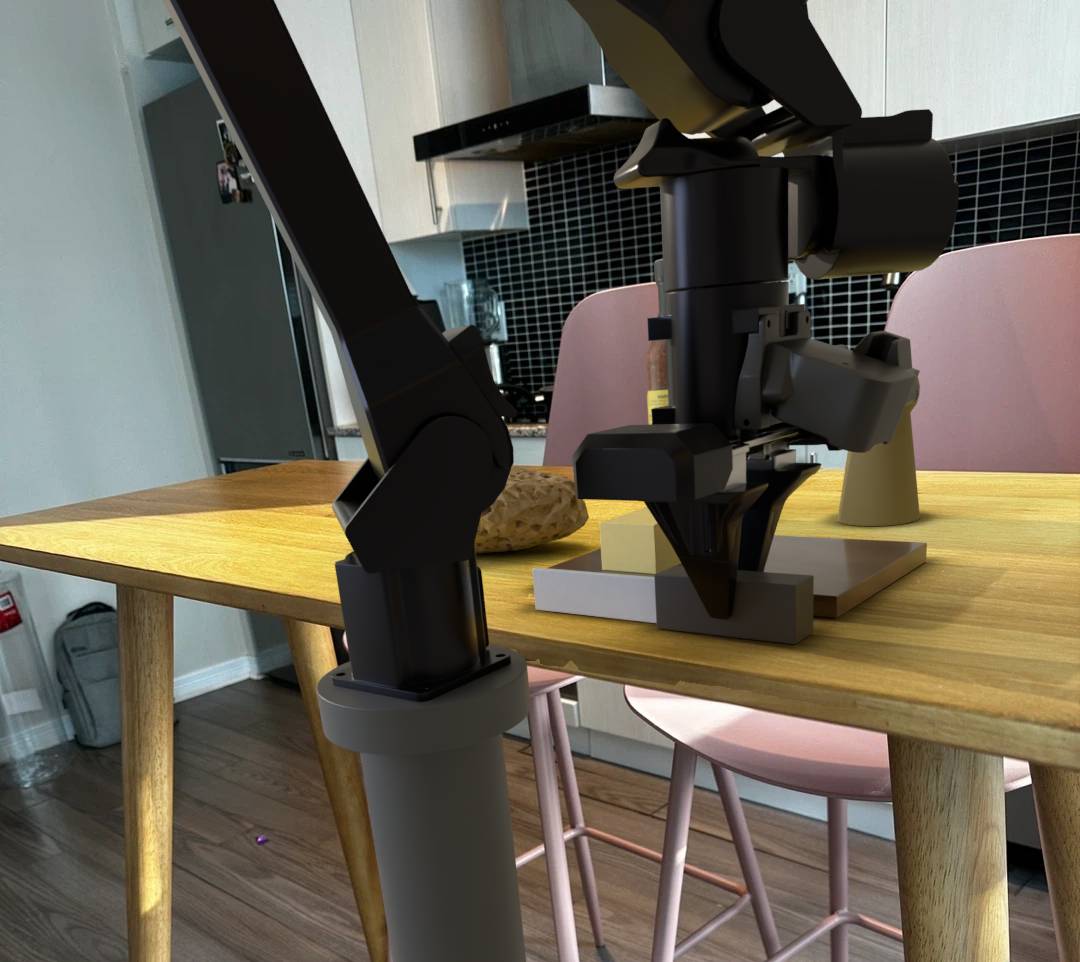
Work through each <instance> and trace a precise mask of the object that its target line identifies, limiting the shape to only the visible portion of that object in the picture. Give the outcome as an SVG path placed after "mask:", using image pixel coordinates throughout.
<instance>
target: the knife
mask: <svg viewBox="0 0 1080 962" xmlns="http://www.w3.org/2000/svg"><path fill="white" fill-rule="evenodd" d="M531 570H532V571H531V573H532V582H533V584H532V585H533V593H534V595H533V596H534V605H535V610H537V611H544V612H545V611H546V612H554V613H562V614H571V615H579V616H588V617H597V618H604V619H605V618H606V619H615V620H624V621H633V622H641V623H650V624H656V629H659V630H667V631H677V632H684V633H692V634H700V635H709V636H719V637H727V638H736V639H743V640H744V639H745V640H753V641H761V642H769V643H779V644H788V645H796V644H798V643H799V642H801V641H803V640H804V639H806V638H807V637H809V636H811V635H812V634H813V633H814V616H813V588H814V576H812V575H799V574H785V573H771V572H757V571H744V570H737V581H736V591H735V598H734V604H733V611H732V615H731V617H730V618H728V619H715V618H711V617H710V616H709V614H708V613H707V611H706V609H705V607H704V605H703V603H702V601H701V599H700V598H699V596H698V594H697V592H696V590H695V588H694V586H693V584H692V583H691V581H690V579H689V577H688V575H687V573H686V571H685V569H684V568H683V566H673V567H671V568H669V569H666V570H664V571H661V572H659V573H657V574H655V575H654V577H647V576H635V575H623V574H610V573H598V572H586V571H574V570H561V569H549V568H548V567H534V568H532V569H531Z"/></svg>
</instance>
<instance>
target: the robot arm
mask: <svg viewBox="0 0 1080 962" xmlns="http://www.w3.org/2000/svg"><path fill="white" fill-rule="evenodd" d="M566 1H567V2H568V4H570V6H571V7H572V8H573V9H574V10H575V12H576V13H577V14H578V15H579V16H580V17H581V18H582V19H583V20H584V22H585V23H586V24H587V26H588V27H589V29H590V31H591V33H592V34H593V37H594V38H595V40H596V42H597V43H598V45H599V47H600V48H601V51H602V52H603V55H604V56H605V57H606V59H607V62H608V63H609V64H610V66H611V68H612V69H613V70H614V72H615V73H616V74H617V75H618V76H619V77H620V78H621V80H623V82H624V83H625V84H626V85H627V86H628V87H629V88H630V89H631V91H632V92H633V93H634V94H635V96H637V97H638V99H640V101H641V102H642V103H643V104H644V105H645V106H646V108H648V110H649V111H650V112H651V113H652V114H653V115H654V116H655V118H657V119H658V121H656V122H655V123H653V124H651V125H649V126H648V127H646V128H645V130H644V133H643V135H642V138H641V140H640V142H639V143H638V145H637V147H636V149H635V150H634V152H633V153H632V154H631V155H630V156H629V158H628V159H627V160H626V162H624V164H623V165H622V166H621V167H620V168H619V169H618V170H617V171H616V172H615V173H614V176H613V182H614V185H615V187H617V188H618V189H622V190H623V189H624V190H625V189H639V188H641V189H642V188H655V187H658V188H659V191H660V218H661V246H662V259H663V272H664V292H671V293H666V294H664V298H665V317H658V316H656V317H647V318H646V319H647V341H649V342H651V341H653V340H665V339H666V349H667V375H668V400H669V405H668V406H663V407H658V408H653V409H652V425H649V424H627V425H624V426H619V427H614V428H610V429H605V430H600V431H596V432H591V433H587V434H586V435H585V436H584V438H583V440H582V441H581V443H580V444H579V445H578V447H577V448H576V449H575V451H574V452H573V453H572V458H571V459H572V469H573V470H572V471H573V482H574V486H575V497H576V498H577V499H583V500H591V501H592V500H594V501H627V502H628V501H629V502H630V501H631V502H643V503H644V504H645V507H647V508H648V509H649V511H650V512H651V514H652V515H653V517H654V519H655V520H656V522H657V523H658V525H659V526H660V528H661V530H662V531H663V533H664V534H665V536H666V537H667V539H668V541H669V542H670V544H671V546H672V547H673V549H674V551H675V553H676V555H677V557H678V558H679V560H680V562H681V564H682V566H683V568H684V569H685V571H686V573H687V575H688V577H689V579H690V581H691V583H692V584H693V586H694V588H695V590H696V592H697V594H698V596H699V598H700V599H701V601H702V603H703V605H704V607H705V609H706V611H707V613H708V614H709V616H710V617H711V618H715V619H728V618H730V617H731V615H732V611H733V604H734V598H735V591H736V581H737V570H744V571H757V572H764V569H765V565H766V562H767V558H768V555H769V551H770V548H771V544H772V541H773V537H774V535H776V530H777V527H778V524H779V520H780V518H781V515H782V512H783V509H784V506H785V504H786V501H787V500H788V498H789V497H790V496H792V494H793V493H795V492H796V491H797V490H798V489H799V488H800V487H801V486H802V485H803V484H804V483H805V482H806V481H807V480H808V479H809V478H811V477H812V476H814V475H816V474H817V472H819V470H820V469H821V467H822V463H820V462H797V449H794V448H791V449H790V446H819V445H820V446H822V445H823V446H824V445H826V448H827V450H828V451H829V452H833V451H834V452H836V451H838V452H840V451H842V450H843V451H847V452H848V451H851V452H857V453H864V452H868V451H870V450H871V449H872V447H873V446H874V445H877V444H880V443H883V444H886V445H887V444H890V443H891V442H892V440H893V437H894V435H895V432H896V429H897V427H898V424H899V422H900V419H901V416H902V414H903V411H904V409H905V406H907V405H911V404H913V403H915V402H916V400H917V399H918V400H919V398H918V397H920V393H919V390H918V388H917V387H916V380H917V377H918V378H919V374H920V372H921V371H920V369H917V368H914V367H913V359H912V346H911V339H909V338H908V337H904V336H901V335H898V334H895V333H892V332H890V331H886V330H878V331H872V332H868V333H867V334H866V335H865V336H864V337H863V338H862V339H861V340H860V341H859V342H858V343H857V344H856V345H855V347H854V348H853V349H849V345H845V344H835V345H834V344H830V343H826V342H824V341H820V340H817V339H813V338H812V333H811V329H812V327H811V326H812V322H811V321H812V320H811V318H812V317H811V313H810V311H809V310H806V304H805V303H798V304H789V302H790V301H789V298H790V297H789V295H790V293H789V292H790V291H789V290H790V289H789V285H790V284H789V262H791V261H794V263H795V265H796V266H797V268H798V270H799V272H800V273H801V274H803V276H804V277H805V278H807V279H810V280H825V279H839V278H850V277H863V276H873V275H885V274H897V273H898V274H899V273H909V272H920V271H924V270H925V269H927V268H929V267H930V266H932V265H933V264H934V263H935V262H936V261H937V260H938V259H939V258H940V257H941V255H942V253H943V252H944V250H945V248H946V247H947V245H948V242H949V240H950V238H951V236H952V233H953V230H954V226H955V223H956V219H957V213H958V208H959V199H960V195H959V193H960V186H959V182H958V181H955V176H954V169H953V165H952V162H951V159H950V157H949V154H948V152H947V150H946V149H945V148H944V146H943V145H942V144H941V143H940V142H939V141H937V140H936V139H935V138H933V121H934V113H933V112H932V110H931V109H928V108H926V109H925V108H924V109H910V110H903V111H901V112H899V113H896V114H893V115H884V116H883V115H881V116H863V110H862V106H861V105H860V103H859V101H858V100H857V97H856V96H855V95H854V92H853V91H852V89H851V88H850V86H849V84H848V82H847V81H846V79H845V77H844V75H843V74H842V72H841V70H840V69H839V67H838V66H837V64H836V62H835V60H834V58H833V57H832V55H831V53H830V52H829V50H828V49H827V47H826V44H825V43H824V42H823V40H822V38H821V37H820V35H819V33H818V31H817V29H816V28H815V26H814V25H813V23H812V21H811V20H810V17H809V8H808V1H809V0H566ZM161 2H162V3H163V4H164V7H165V8H166V10H167V12H168V14H169V16H170V19H171V20H172V22H173V24H174V26H175V28H176V30H177V32H178V33H179V36H180V38H181V40H182V42H183V43H184V46H185V48H186V50H187V52H188V54H189V55H190V57H191V59H192V61H193V64H194V66H195V67H196V70H197V71H198V73H199V76H200V77H201V79H202V81H203V84H204V85H205V87H206V89H207V91H208V93H209V95H210V98H211V99H212V101H213V103H214V105H215V107H216V109H217V111H218V113H219V115H220V117H221V119H222V121H223V123H224V125H225V126H226V128H227V131H228V132H229V134H230V137H231V138H232V140H233V142H234V144H235V147H236V148H237V150H238V152H239V154H240V156H241V158H242V161H243V163H244V164H245V166H246V168H247V170H248V172H249V174H250V175H251V177H252V180H253V182H254V184H255V186H256V187H257V189H258V191H259V192H258V193H259V194H260V195H261V197H262V199H263V201H264V204H265V205H266V207H267V209H268V211H269V213H270V215H271V217H272V219H273V222H274V224H275V225H276V227H277V229H278V231H279V233H280V236H281V237H282V239H283V240H284V243H285V245H286V247H287V249H288V250H289V252H290V255H291V256H292V258H293V260H294V262H295V265H296V267H297V269H298V270H299V273H300V274H301V277H302V278H303V280H304V282H305V284H306V286H307V288H308V290H309V292H310V294H311V296H312V298H313V300H314V302H315V304H316V306H317V308H318V310H319V312H320V314H321V315H322V317H323V319H324V321H325V324H326V326H327V327H328V329H329V331H330V334H331V337H332V340H333V344H334V347H335V350H336V354H337V358H338V361H339V364H340V368H341V371H342V376H343V378H344V382H345V385H346V390H347V393H348V397H349V401H350V403H351V408H352V410H353V414H354V416H355V420H356V423H357V426H358V429H359V432H360V435H361V439H362V442H363V445H364V449H365V451H366V454H367V458H366V459H365V460H364V461H363V463H362V464H361V465H360V466H359V468H358V469H357V470H356V472H355V473H354V474H353V476H352V477H351V478H350V480H349V481H348V482H347V483H346V485H345V486H344V488H343V489H342V490H341V491H340V493H339V494H338V495H337V496H336V498H335V499H334V500H333V502H332V503H331V504H332V505H331V508H332V511H333V514H334V516H335V518H336V520H337V522H338V523H339V526H340V527H341V529H342V531H343V533H344V536H345V538H346V539H347V542H348V543H349V545H350V547H351V549H352V550H353V551H351V552H349V553H347V554H346V555H345V556H344V559H340V560H337V561H335V562H334V569H335V576H336V582H337V588H338V595H339V600H340V607H341V614H342V621H343V627H344V632H345V633H344V634H345V639H346V645H347V651H348V652H347V653H348V658H349V659H348V660H349V661H350V665H351V667H349V668H346V669H344V670H341V671H338V672H336V673H334V674H332V675H331V681H332V685H335V686H340V687H345V688H350V689H355V690H360V691H365V692H370V693H375V694H380V695H385V696H390V697H395V698H401V699H406V700H411V701H416V702H425V701H429V700H432V699H434V698H437V697H439V696H441V695H443V694H445V693H448V692H450V691H452V690H454V689H456V688H459V687H461V686H463V685H465V684H467V683H470V682H472V681H474V680H476V679H478V678H481V677H483V676H485V675H487V674H489V673H492V672H494V671H496V670H498V669H500V668H503V667H505V666H507V665H509V664H511V655H510V654H509V653H505V652H498V651H491V650H486V647H488V646H489V644H490V638H489V630H488V629H489V628H488V619H487V611H486V602H485V591H484V582H483V572H482V568H481V567H480V566H478V562H477V561H478V560H477V553H476V550H475V538H476V534H477V530H478V526H479V522H480V518H481V514H482V512H483V511H485V510H486V509H487V508H489V507H490V506H491V505H493V503H494V502H495V501H496V499H497V498H498V497H499V495H500V494H501V492H502V491H503V490H504V488H505V486H506V483H507V480H508V477H509V474H510V471H511V467H512V466H514V462H515V460H514V459H515V458H514V454H515V453H514V445H513V441H512V438H511V434H510V431H509V427H508V425H507V424H506V422H505V420H504V418H512V419H513V418H517V416H518V410H517V408H516V407H514V405H512V404H511V402H509V401H508V399H506V397H504V395H503V394H502V392H501V391H500V389H499V387H498V385H497V384H496V383H495V379H494V376H493V375H492V371H491V368H490V364H489V361H488V357H487V353H486V350H485V345H484V343H483V340H482V337H481V334H480V332H479V329H478V326H476V325H474V324H468V325H461V326H456V327H450V328H447V329H446V330H445V331H443V332H441V330H440V329H439V328H438V326H437V325H436V324H435V323H434V321H433V320H432V319H431V318H430V316H429V315H428V314H427V312H426V311H425V310H424V309H423V308H422V307H421V305H420V304H419V302H418V301H417V299H416V297H415V296H414V295H413V293H412V292H411V290H410V287H409V285H408V283H407V281H406V279H405V277H404V274H403V272H402V270H401V269H400V266H399V263H398V262H397V260H396V258H395V256H394V254H393V253H394V252H393V251H392V249H391V247H390V245H389V243H388V241H387V239H386V236H385V234H384V231H383V230H382V227H381V226H380V224H379V222H378V219H377V217H376V215H375V213H374V211H373V209H372V206H371V204H370V202H369V200H368V198H367V195H366V193H365V191H364V189H363V186H362V185H361V182H360V181H359V179H358V176H357V174H356V172H355V170H354V167H353V166H352V163H351V161H350V159H349V157H348V155H347V153H346V151H345V148H344V147H343V145H342V142H341V140H340V138H339V136H338V134H337V132H336V129H335V128H334V125H333V123H332V121H331V119H330V117H329V114H328V112H327V111H326V108H325V106H324V104H323V102H322V100H321V97H320V95H319V93H318V91H317V89H316V87H315V85H314V82H313V80H312V78H311V76H310V74H309V72H308V69H307V68H306V66H305V63H304V61H303V59H302V57H301V54H300V53H299V50H298V49H297V46H296V43H295V42H294V40H293V38H292V35H291V34H290V31H289V29H288V27H287V25H286V23H285V20H284V18H283V16H282V13H281V11H280V10H279V8H278V5H277V4H276V1H275V0H161ZM773 101H775V102H776V103H777V104H779V105H780V106H779V107H778V108H776V109H774V110H772V111H770V112H768V113H766V111H765V110H764V108H763V107H765V106H767V105H769V104H770V103H771V102H773ZM862 116H863V117H862ZM704 133H705V134H706V135H707V136H709V137H695V138H694V137H693V138H689V137H688V136H686V135H689V136H690V135H691V136H693V135H697V134H698V135H699V134H700V135H701V134H704ZM780 154H783V156H777V155H780ZM677 291H679V292H677Z"/></svg>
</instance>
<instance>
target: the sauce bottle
mask: <svg viewBox="0 0 1080 962" xmlns="http://www.w3.org/2000/svg"><path fill="white" fill-rule="evenodd" d="M653 267H654V268H653V271H654V282H655V284H656V287H657V299H658V313H657V317H665V298H664V294H666V293H671V292H664V272H663V258H660V259H656V260H655V261H654V264H653ZM677 292H679V291H677ZM645 364H646V373H647V374H646V375H647V392H646V405H647V421H648V422H647V423H648V424H647V425H652V409H653V408H658V407H663V406H668V405H669V400H668V375H667V349H666V339H665V340H653V341H650V345H649V348H648V351H647V353H646V363H645Z"/></svg>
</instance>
